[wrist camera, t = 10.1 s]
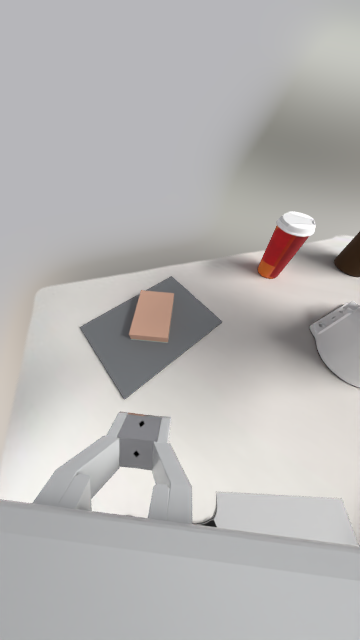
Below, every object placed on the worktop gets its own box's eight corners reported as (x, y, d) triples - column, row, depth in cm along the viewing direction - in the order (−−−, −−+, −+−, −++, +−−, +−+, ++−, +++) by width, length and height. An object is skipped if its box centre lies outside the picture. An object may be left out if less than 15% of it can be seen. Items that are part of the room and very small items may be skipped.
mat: (171, 277, 48) (171, 276, 48) (221, 322, 41) (222, 321, 40) (80, 328, 38) (79, 327, 38) (124, 399, 31) (124, 398, 31)
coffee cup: (281, 265, 53) (315, 213, 40) (282, 284, 48) (322, 233, 36) (253, 260, 53) (278, 207, 41) (252, 278, 49) (280, 225, 36)
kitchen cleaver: (339, 481, 26) (385, 601, 19) (331, 480, 27) (371, 592, 21) (133, 463, 26) (112, 575, 20) (135, 462, 27) (116, 568, 21)
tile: (167, 338, 35) (174, 293, 41) (128, 334, 35) (141, 290, 41) (168, 343, 37) (173, 299, 43) (131, 339, 37) (142, 296, 43)
